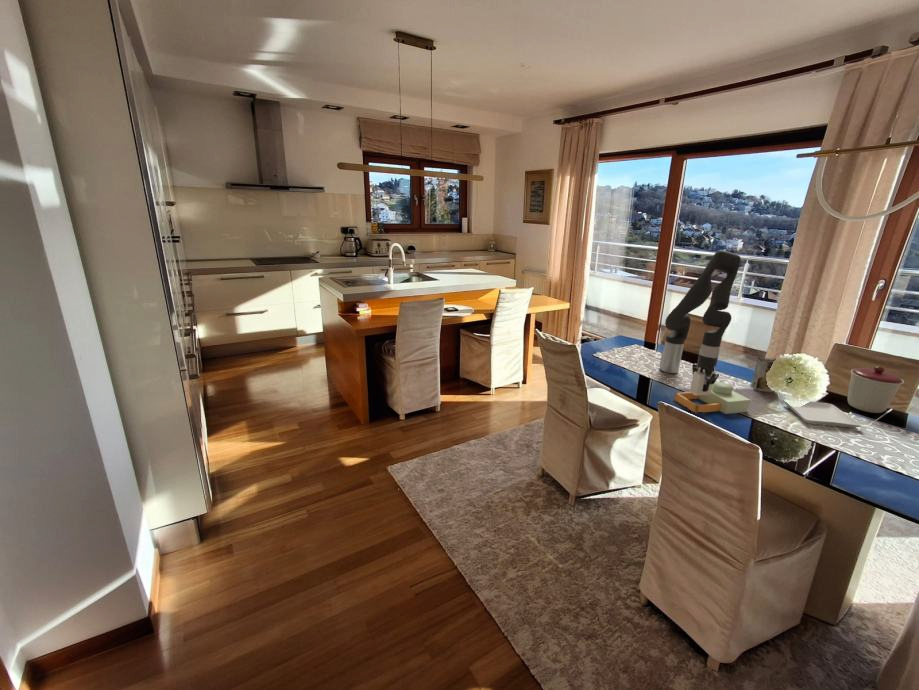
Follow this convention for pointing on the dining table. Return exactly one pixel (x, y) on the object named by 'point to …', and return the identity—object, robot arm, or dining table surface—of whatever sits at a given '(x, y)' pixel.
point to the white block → (699, 384)
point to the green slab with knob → (715, 400)
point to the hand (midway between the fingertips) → (700, 389)
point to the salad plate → (823, 414)
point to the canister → (872, 389)
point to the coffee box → (762, 374)
